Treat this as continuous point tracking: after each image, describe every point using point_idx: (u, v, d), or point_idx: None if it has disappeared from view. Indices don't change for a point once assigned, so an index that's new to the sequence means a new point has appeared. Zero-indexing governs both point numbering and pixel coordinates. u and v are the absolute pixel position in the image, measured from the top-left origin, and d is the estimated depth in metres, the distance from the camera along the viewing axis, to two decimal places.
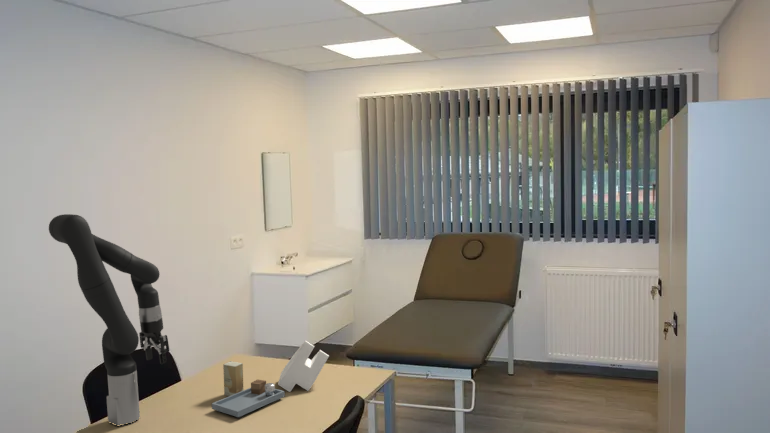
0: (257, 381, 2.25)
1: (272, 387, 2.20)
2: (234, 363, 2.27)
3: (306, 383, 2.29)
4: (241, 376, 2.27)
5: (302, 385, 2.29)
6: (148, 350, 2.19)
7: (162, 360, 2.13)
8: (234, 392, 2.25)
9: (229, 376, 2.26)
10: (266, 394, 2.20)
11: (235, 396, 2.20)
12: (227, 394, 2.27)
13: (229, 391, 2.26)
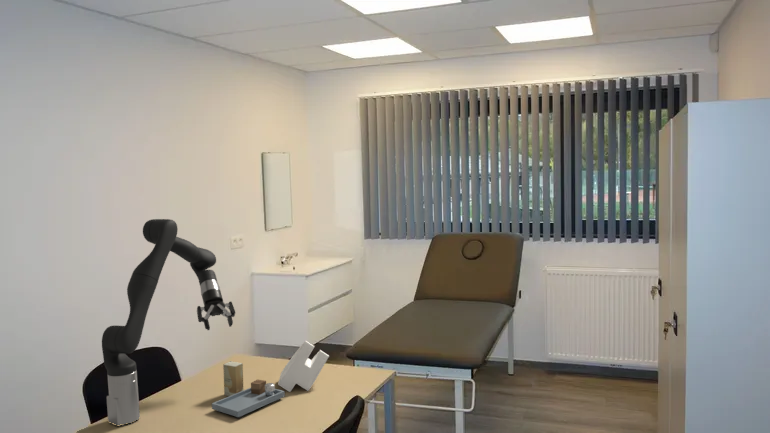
0: (257, 381, 2.25)
1: (272, 387, 2.20)
2: (234, 363, 2.27)
3: (306, 383, 2.29)
4: (241, 376, 2.27)
5: (302, 385, 2.29)
6: None
7: (231, 321, 2.37)
8: (234, 392, 2.25)
9: (229, 376, 2.26)
10: (266, 394, 2.20)
11: (235, 396, 2.20)
12: (227, 394, 2.27)
13: (229, 391, 2.26)
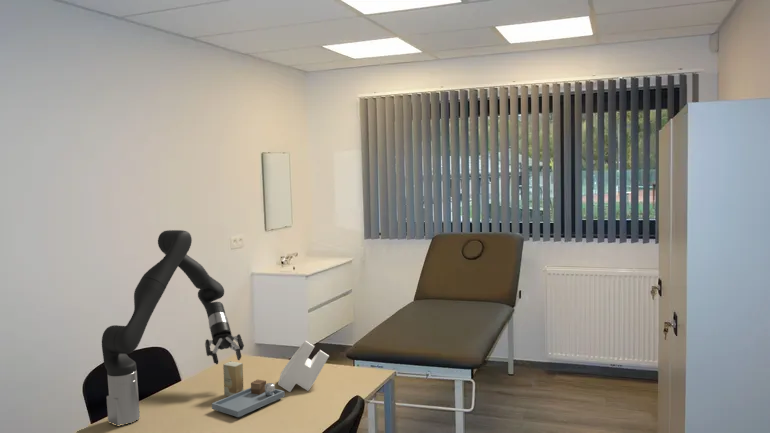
0: (257, 381, 2.25)
1: (272, 387, 2.20)
2: (234, 363, 2.27)
3: (306, 383, 2.29)
4: (241, 376, 2.27)
5: (302, 385, 2.29)
6: None
7: (240, 355, 2.35)
8: (234, 392, 2.25)
9: (229, 376, 2.26)
10: (266, 394, 2.20)
11: (235, 396, 2.20)
12: (227, 394, 2.27)
13: (229, 391, 2.26)
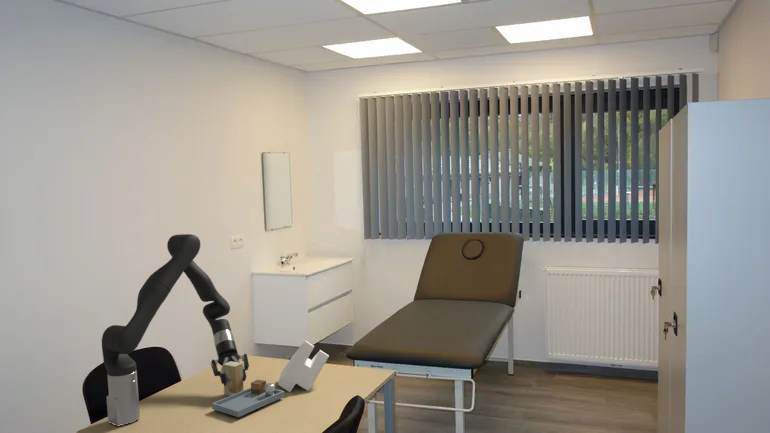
0: (257, 381, 2.25)
1: (272, 387, 2.20)
2: (234, 363, 2.27)
3: (306, 383, 2.29)
4: (241, 376, 2.27)
5: (302, 385, 2.29)
6: None
7: (245, 375, 2.29)
8: (234, 392, 2.25)
9: (229, 376, 2.26)
10: (266, 394, 2.20)
11: (235, 396, 2.20)
12: (227, 394, 2.27)
13: (229, 391, 2.26)
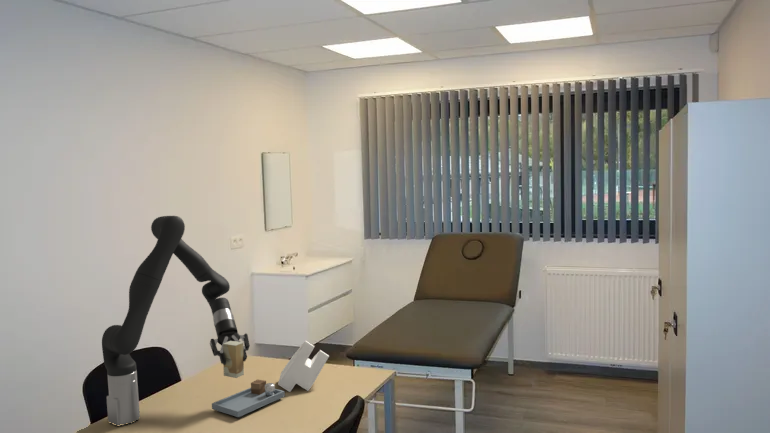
0: (257, 381, 2.25)
1: (272, 387, 2.20)
2: (234, 342, 2.18)
3: (306, 383, 2.29)
4: (241, 356, 2.18)
5: (302, 385, 2.29)
6: None
7: (246, 355, 2.19)
8: (234, 372, 2.16)
9: (229, 355, 2.16)
10: (266, 394, 2.20)
11: (235, 396, 2.20)
12: (227, 375, 2.17)
13: (229, 372, 2.17)
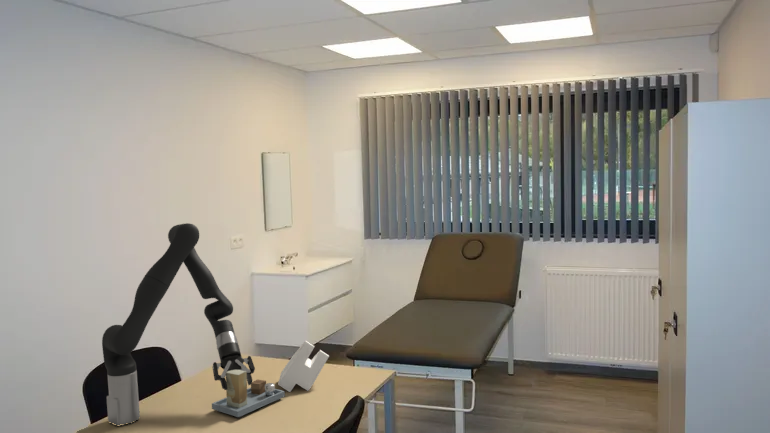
0: (257, 381, 2.25)
1: (272, 387, 2.20)
2: (237, 371, 2.12)
3: (306, 383, 2.29)
4: (245, 385, 2.12)
5: (302, 385, 2.29)
6: None
7: (251, 379, 2.14)
8: (237, 402, 2.10)
9: (231, 385, 2.11)
10: (266, 394, 2.20)
11: None
12: (230, 404, 2.12)
13: (232, 401, 2.11)
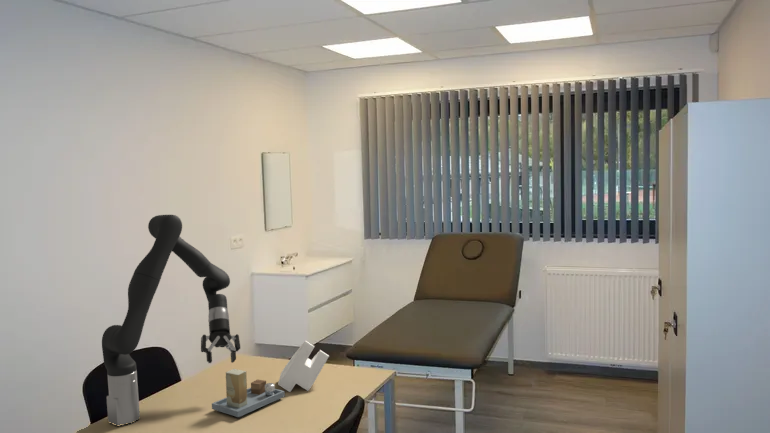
0: (257, 381, 2.25)
1: (272, 387, 2.20)
2: (237, 371, 2.12)
3: (306, 383, 2.29)
4: (245, 385, 2.12)
5: (302, 385, 2.29)
6: None
7: (235, 357, 2.24)
8: (237, 402, 2.10)
9: (231, 385, 2.11)
10: (266, 394, 2.20)
11: None
12: (230, 404, 2.12)
13: (232, 401, 2.11)
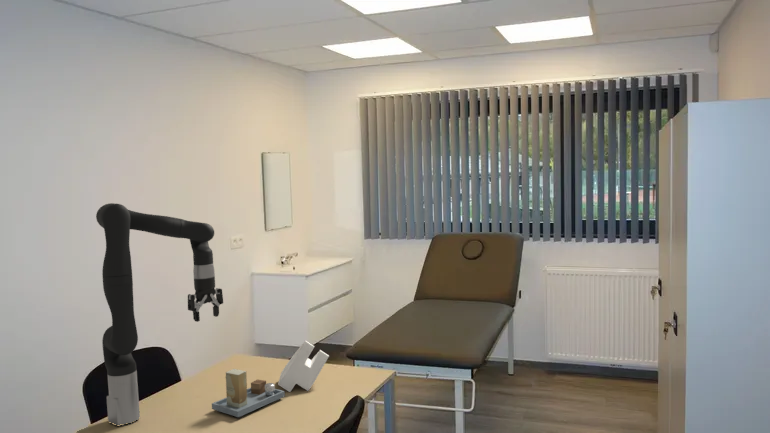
0: (257, 381, 2.25)
1: (272, 387, 2.20)
2: (237, 371, 2.12)
3: (306, 383, 2.29)
4: (245, 385, 2.12)
5: (302, 385, 2.29)
6: None
7: (218, 312, 2.28)
8: (237, 402, 2.10)
9: (231, 385, 2.11)
10: (266, 394, 2.20)
11: None
12: (230, 404, 2.12)
13: (232, 401, 2.11)
